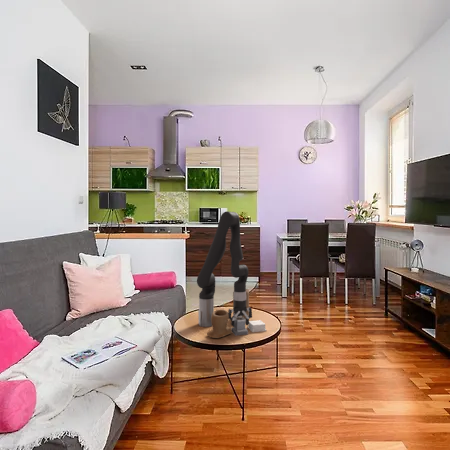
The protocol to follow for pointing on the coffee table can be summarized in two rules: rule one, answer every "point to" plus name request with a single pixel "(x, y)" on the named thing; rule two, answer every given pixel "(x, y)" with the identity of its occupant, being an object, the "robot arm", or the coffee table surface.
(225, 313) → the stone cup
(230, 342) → the coffee table surface
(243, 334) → the stand
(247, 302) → the block
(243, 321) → the housing
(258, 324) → the stand
